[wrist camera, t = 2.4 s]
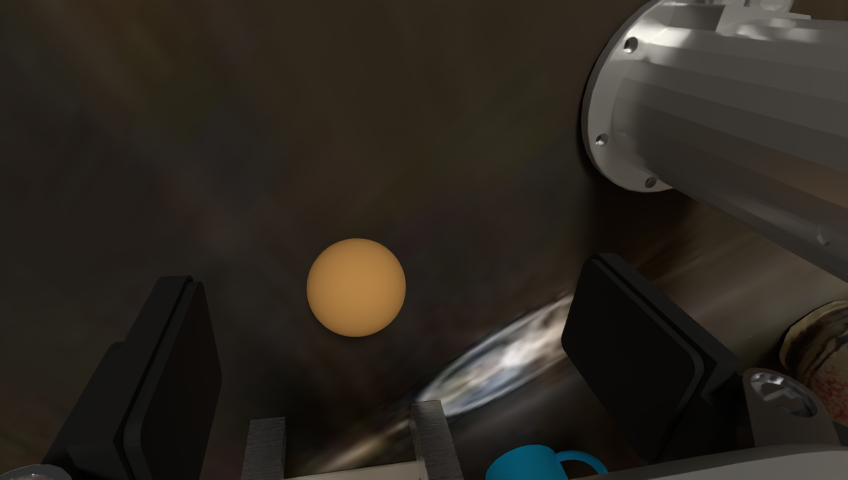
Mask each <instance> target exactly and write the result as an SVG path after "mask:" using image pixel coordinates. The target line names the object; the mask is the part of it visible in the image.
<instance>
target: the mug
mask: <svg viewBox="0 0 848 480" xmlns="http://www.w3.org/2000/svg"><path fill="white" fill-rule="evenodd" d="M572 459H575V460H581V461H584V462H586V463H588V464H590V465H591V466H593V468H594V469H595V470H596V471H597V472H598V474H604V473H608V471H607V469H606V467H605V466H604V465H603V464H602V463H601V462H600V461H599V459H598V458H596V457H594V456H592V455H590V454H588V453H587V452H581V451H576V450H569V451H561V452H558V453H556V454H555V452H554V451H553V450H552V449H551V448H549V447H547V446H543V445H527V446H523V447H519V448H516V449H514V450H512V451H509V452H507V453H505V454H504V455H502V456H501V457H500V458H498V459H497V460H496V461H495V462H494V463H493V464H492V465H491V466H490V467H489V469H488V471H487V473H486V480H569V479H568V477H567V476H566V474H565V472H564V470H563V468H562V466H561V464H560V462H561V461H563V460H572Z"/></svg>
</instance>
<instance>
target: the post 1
mask: <svg viewBox="0 0 848 480" xmlns="http://www.w3.org/2000/svg"><path fill="white" fill-rule="evenodd" d="M286 438H287V437H286V425H285V416H284V417H274V418H265V419H255V420H251V421H250V427H249V434H248V440H247V446H246V452H245V458H244V465H243V471H242V477H241V480H283V478H284V465H285V451H286Z"/></svg>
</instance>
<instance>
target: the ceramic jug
mask: <svg viewBox="0 0 848 480" xmlns="http://www.w3.org/2000/svg"><path fill="white" fill-rule="evenodd" d="M779 357H780V361H781V363H782V364H783V366H784V367H785V368H786V369H787V370H789V371H790V372H792V374H793V379H794V380H796V381H798V382H799V383H801V384H803V385H804V386H805V387H807V388H808V389H809V390H811V391H812V392H813V393H814V394H815V395H816V396H817V397H818V398H819V399H820V400H821V401H822V402H823V404H824V406H825V407H826V409H827V411H828V414H829V416H830V419H831V420H833V421H835V422H838V423H840V424H843V425H845V426H848V301H846V300H842V301H834V302H831V303H829V304H827V305H825V306H823V307H820V308H818V309H816V310H815V311H813V312H812V313H810V314H809V315H807V316H806V317H805V318H803V319H802V320H800V321H799V322H797V323H796V324H795V325H793V326H792V327H791V328H790V329H789V331H788V333H787V334H786V337H785V340H784V343H783V345H782V347H781V349H780V353H779Z"/></svg>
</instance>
